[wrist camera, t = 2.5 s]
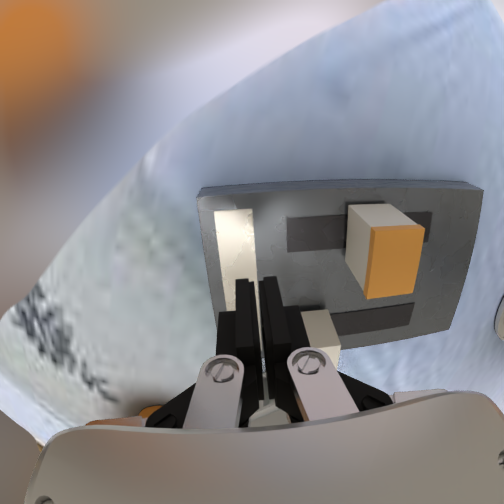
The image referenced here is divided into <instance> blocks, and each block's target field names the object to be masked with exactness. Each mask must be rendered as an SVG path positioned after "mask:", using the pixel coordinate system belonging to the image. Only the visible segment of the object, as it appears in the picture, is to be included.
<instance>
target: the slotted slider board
mask: <svg viewBox="0 0 504 504" xmlns="http://www.w3.org/2000/svg"><path fill="white" fill-rule="evenodd" d="M483 192H484V190H482V189H480V188H478V187H476V186H474V185H472V184H469V183H467V182H456V181H435V180H398V179H351V180H312V181H289V182H271V183H256V184H242V185H229V186H218V187H207V188H202V189H201V190H200V192H199V194H198V196H197V197H196V198H197V206H198V213H199V221H200V228H201V235H202V242H203V248H204V255H205V262H206V268H207V274H208V280H209V287H210V293H211V299H212V304H213V310H214V316H215V321H216V327H217V329H218V315H219V312H222V311H235V280H236V279H244V278H249V282H250V281H254V285H255V295H256V305H257V315H258V325H259V335H260V345H261V358H264V349H263V340H262V328H261V313H260V299H259V284H258V281H262V280H263V277H268V276H277V280H278V284H279V289H280V293H281V298H282V302H283V306H293V305H298V306H299V308H300V311H301V312H305V311H316V310H325V309H328V311H329V314H330V316H331V319H332V322H333V325H334V327H335V330H336V333H337V335H338V338H339V341H340V344H341V349H340V350H344V349H351V348H358V347H364V346H370V345H376V344H382V343H387V342H393V341H398V340H403V339H408V338H413V337H418V336H422V335H427V334H431V333H436V332H440V331H444V330H448V329H449V328H450V325H451V322H452V319H453V317H454V314H455V311H456V308H457V305H458V302H459V299H460V296H461V292H462V289H463V286H464V282H465V279H466V275H467V272H468V268H469V264H470V260H471V256H472V252H473V248H474V243H475V238H476V234H477V229H478V223H479V218H480V212H481V206H482V199H483ZM360 204H391V205H392V206H394V207H395V208H396V209H398V210H399V211H400V212H402V213H403V214H404V215H406V216H407V217H409V218H410V219H411V220H413V221H414V222H415V223H416V224H418V225H421V226H422V227H424V228H425V232H424V239H423V245H422V250H421V256H420V261H419V266H418V271H417V276H416V281H415V285H414V290H413V293H410V294H403V295H396V296H388V297H381V298H373V299H366V297H365V296H364V294H363V290H362V288H361V286H360V285H359V283H358V281H357V280H356V278H355V276H354V275H353V273H352V271H351V270H350V268H349V267H348V265H347V263H346V262H345V255H346V241H347V223H348V205H360Z"/></svg>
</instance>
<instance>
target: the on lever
mask: <svg viewBox="0 0 504 504" xmlns="http://www.w3.org/2000/svg"><path fill="white" fill-rule="evenodd" d="M301 315H302V318H303V322H304V325H305V329H306V332H307V336H308V339H309V343H310V346H311V347H314V348H318V349H321V350H322V351H324V352H325V353H326V354H327V355H328V356H329V357H330V359H331V361H332V363H333V365H334V366H335V368H336V370H337V366H338V361H339V355H340V349H341V344H340V341H339V338H338V335H337V333H336V330H335V327H334V325H333V322H332V319H331V316H330V314H329V311H328V309H325V310H316V311H305V312H301Z"/></svg>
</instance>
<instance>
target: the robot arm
mask: <svg viewBox="0 0 504 504" xmlns="http://www.w3.org/2000/svg"><path fill="white" fill-rule="evenodd" d="M258 284H259V299H260V313H261V328H262V340H263V349H264V358H265V367H266V376H267V385H268V395H269V400H271V399H275V407H278V408H279V409H281V410H282V411H284V412H286V417H287V421H288V423H289V424H282V425H272V426H261V427H250V426H251V416H252V415H253V414H254V413H255V412H256V411H257V410H258V409H259V401H260V400H264V386H263V372H262V358H261V345H260V335H259V325H258V315H257V305H256V295H255V285H254V281H250V282H249V278H244V279H236V280H235V311H222V312H219V315H218V329H217V344H216V356H214V357H211V358H210V359H208V360H207V361H205V362H204V363H203V365H202V367H201V369H200V372H199V376H198V379H197V382H196V383H195V384H193V385H192V386H191V387H189V388H188V389H186V390H185V391H184V392H182V393H181V394H179V395H178V396H176V397H175V398H174V399H172V400H171V401H169V402H168V403H166V404H165V405H163V406H162V407H160V408H159V409H157V410H156V411H154V412H153V413H152V414H151V415H150V416H149V417H148V418H142V416H134V417H126V418H116V419H105V420H95V421H91V422H89V423H87V424H86V425H85V426H79V427H74V428H69V429H66V430H63V431H61V432H58V433H57V434H55V435H53V436H52V437H51V438H50V439H49V440H48V442H47V443H46V444H45V446H44V448H43V450H42V452H41V454H40V456H39V458H38V460H37V463H36V465H35V468H34V471H33V474H32V476H31V480H30V483H29V486H28V490H27V493H26V497H25V501H24V504H504V415H503V413H502V412H501V410H500V409H499V408H498V407H497V405H496V404H495V403H494V402H493V401H492V400H491V399H490V398H489V397H487V396H486V395H484V394H482V393H479V392H474V391H457V390H456V391H447V390H445V389H432V390H421V391H408V392H394V394H393V395H388V394H386V393H385V392H383V391H381V390H379V389H376V388H374V387H372V386H370V385H367V384H365V383H363V382H361V381H358V380H356V379H354V378H352V377H350V376H347V375H345V374H343V373H341V372H339V371H337V370H336V368H335V366H334V365H333V363H332V361H331V359H330V357H329V356H328V355H327V354H326V353H325V352H324V351H322V350H321V349H318V348H314V347H311V346H310V343H309V339H308V336H307V332H306V329H305V325H304V322H303V318H302V315H301V311H300V308H299V306H298V305H293V306H283V302H282V298H281V293H280V289H279V284H278V280H277V276H268V277H263V280H262V281H258ZM495 331H496V334H497V335H498V336H499V338H500V339H501V340H504V298H503V300H502V302H501V304H500V307H499V309H498V312H497V315H496V320H495Z"/></svg>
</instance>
